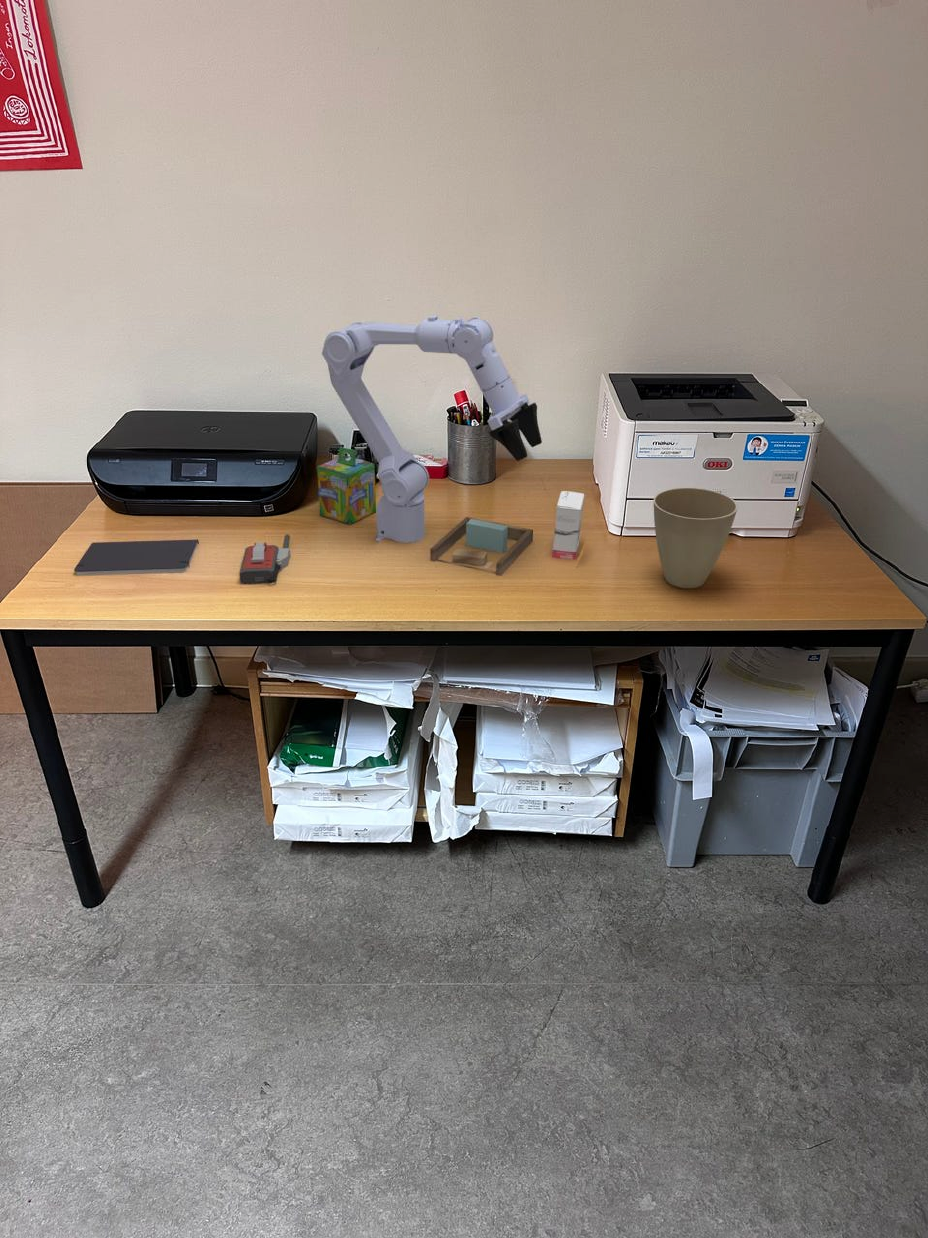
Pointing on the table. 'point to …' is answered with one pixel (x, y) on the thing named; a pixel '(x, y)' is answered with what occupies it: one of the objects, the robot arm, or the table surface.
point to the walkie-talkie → (264, 562)
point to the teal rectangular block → (486, 535)
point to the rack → (523, 541)
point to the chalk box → (346, 488)
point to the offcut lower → (481, 565)
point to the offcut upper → (469, 557)
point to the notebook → (137, 557)
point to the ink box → (568, 525)
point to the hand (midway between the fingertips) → (529, 451)
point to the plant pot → (691, 532)
